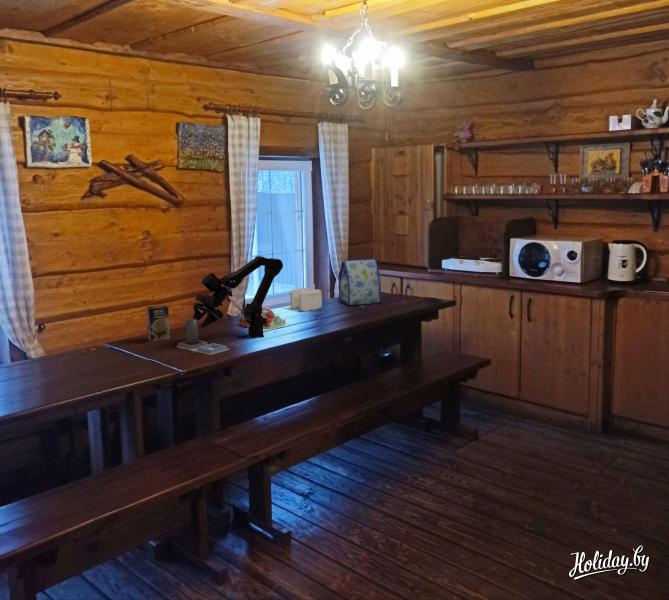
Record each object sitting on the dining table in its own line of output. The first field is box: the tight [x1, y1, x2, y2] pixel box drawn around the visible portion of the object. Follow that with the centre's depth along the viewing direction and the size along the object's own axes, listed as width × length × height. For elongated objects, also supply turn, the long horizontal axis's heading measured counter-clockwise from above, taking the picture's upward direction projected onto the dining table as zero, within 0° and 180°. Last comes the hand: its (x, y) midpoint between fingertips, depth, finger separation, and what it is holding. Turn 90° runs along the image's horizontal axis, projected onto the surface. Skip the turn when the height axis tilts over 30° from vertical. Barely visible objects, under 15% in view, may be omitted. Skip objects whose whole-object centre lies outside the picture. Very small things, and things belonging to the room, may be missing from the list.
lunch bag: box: [338, 258, 382, 306], centre depth 401 cm, size 22×17×26 cm
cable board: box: [175, 339, 230, 357], centre depth 298 cm, size 23×11×2 cm, turn 52°
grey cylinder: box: [185, 317, 199, 345], centre depth 301 cm, size 5×5×12 cm
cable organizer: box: [289, 287, 323, 313], centre depth 384 cm, size 15×11×12 cm
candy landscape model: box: [237, 305, 287, 330], centre depth 350 cm, size 25×24×9 cm
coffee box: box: [145, 304, 171, 342], centre depth 316 cm, size 9×6×16 cm
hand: (196, 325), depth 302 cm, fingers open, 9 cm apart
